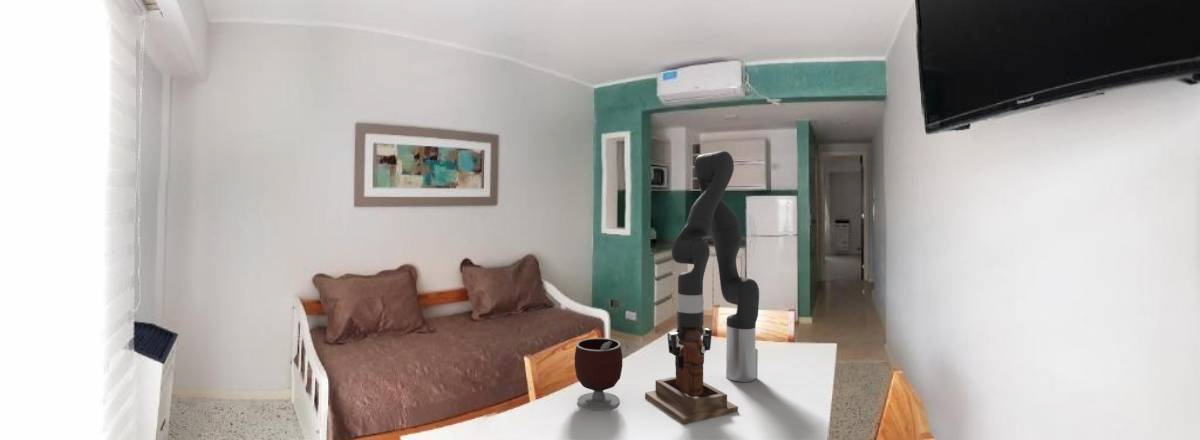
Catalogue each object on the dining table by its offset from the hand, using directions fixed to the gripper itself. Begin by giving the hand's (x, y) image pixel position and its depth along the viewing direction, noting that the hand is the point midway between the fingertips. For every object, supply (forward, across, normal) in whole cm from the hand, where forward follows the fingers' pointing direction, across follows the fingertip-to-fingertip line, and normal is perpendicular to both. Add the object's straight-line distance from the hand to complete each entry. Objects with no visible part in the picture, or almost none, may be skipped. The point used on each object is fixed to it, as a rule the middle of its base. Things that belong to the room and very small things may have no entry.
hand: (689, 366), depth 144 cm
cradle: (+11, 0, 0) cm, 11 cm away
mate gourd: (+11, +23, -12) cm, 28 cm away
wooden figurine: (+7, 0, 0) cm, 7 cm away
